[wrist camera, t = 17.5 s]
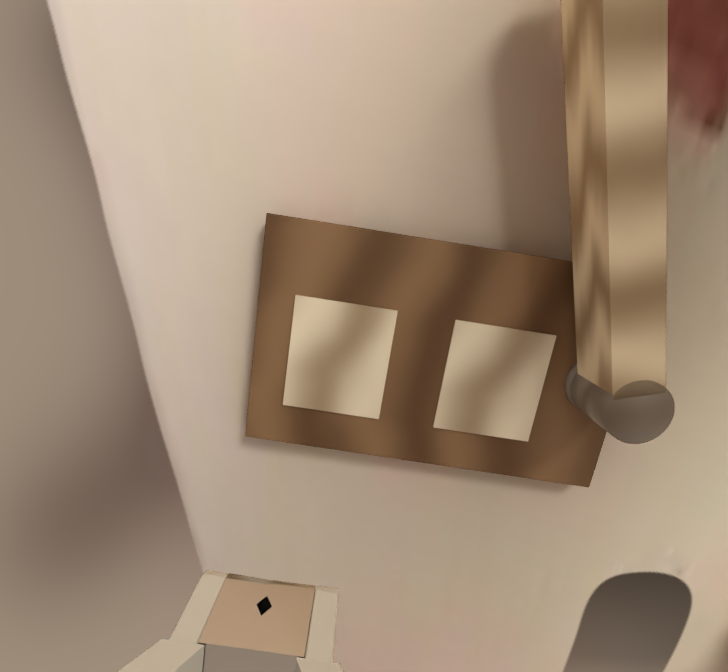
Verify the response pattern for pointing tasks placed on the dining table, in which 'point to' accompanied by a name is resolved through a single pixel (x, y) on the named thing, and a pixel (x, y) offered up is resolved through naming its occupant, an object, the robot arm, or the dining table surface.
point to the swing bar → (618, 210)
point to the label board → (418, 352)
